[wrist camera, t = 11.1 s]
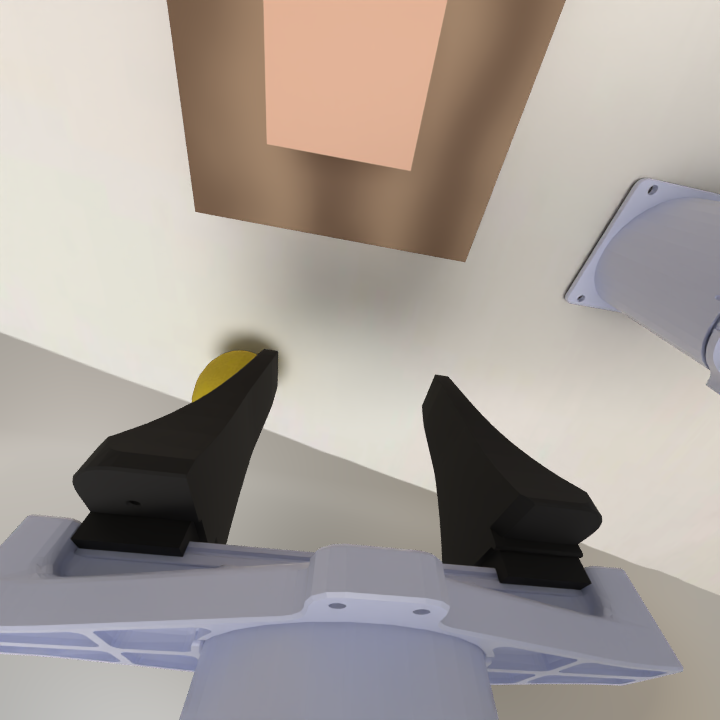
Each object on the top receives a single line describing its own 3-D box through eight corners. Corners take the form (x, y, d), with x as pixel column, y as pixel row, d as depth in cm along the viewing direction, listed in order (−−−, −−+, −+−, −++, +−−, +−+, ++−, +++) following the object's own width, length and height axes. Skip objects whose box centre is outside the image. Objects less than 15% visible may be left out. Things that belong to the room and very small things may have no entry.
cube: (422, 20, 12) (460, -59, 8) (396, 162, 15) (410, 170, 10) (302, -8, 12) (260, -110, 7) (298, 143, 15) (266, 143, 10)
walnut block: (610, -186, 11) (665, -259, 9) (455, 250, 20) (465, 262, 18) (158, -344, 10) (102, -474, 8) (213, 204, 19) (195, 211, 17)
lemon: (225, 322, 24) (174, 389, 17) (292, 347, 25) (267, 417, 19) (215, 371, 27) (167, 444, 20) (275, 391, 28) (248, 465, 22)
